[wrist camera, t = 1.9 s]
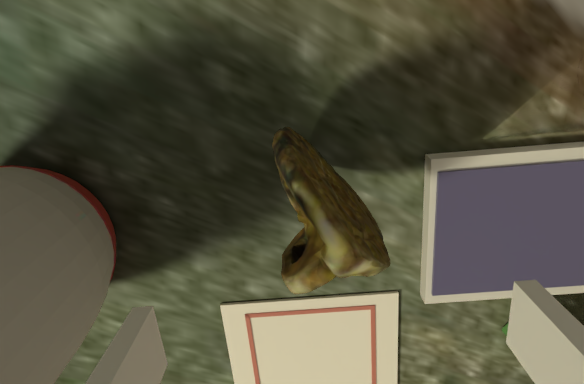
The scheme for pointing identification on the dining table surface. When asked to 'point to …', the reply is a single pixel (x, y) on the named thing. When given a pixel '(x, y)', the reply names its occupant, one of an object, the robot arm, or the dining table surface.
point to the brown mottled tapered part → (324, 220)
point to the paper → (314, 339)
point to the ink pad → (502, 222)
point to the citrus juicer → (49, 271)
